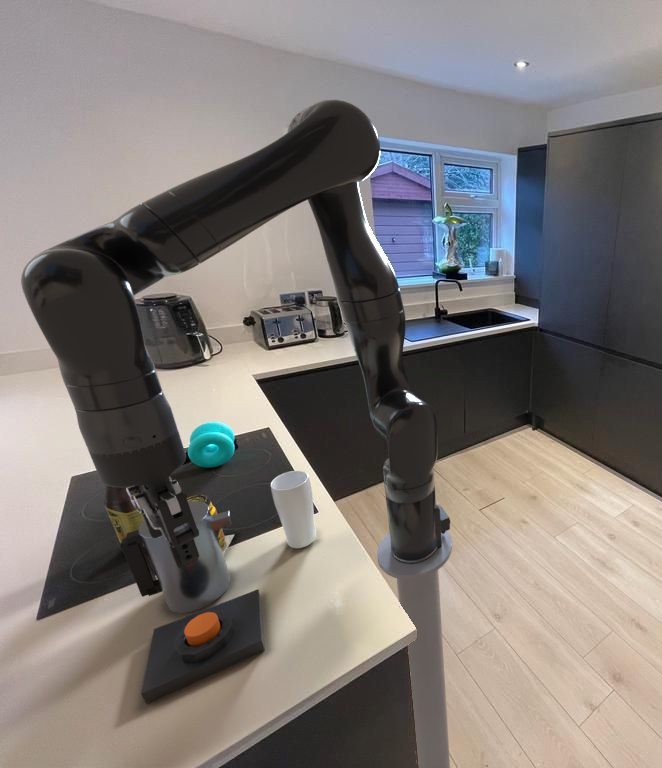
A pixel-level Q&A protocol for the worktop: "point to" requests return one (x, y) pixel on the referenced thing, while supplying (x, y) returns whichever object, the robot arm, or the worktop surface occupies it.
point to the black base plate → (203, 647)
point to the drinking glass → (295, 507)
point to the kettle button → (202, 629)
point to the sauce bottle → (122, 512)
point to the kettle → (190, 582)
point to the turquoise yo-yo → (211, 444)
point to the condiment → (204, 498)
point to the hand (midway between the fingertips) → (174, 547)
